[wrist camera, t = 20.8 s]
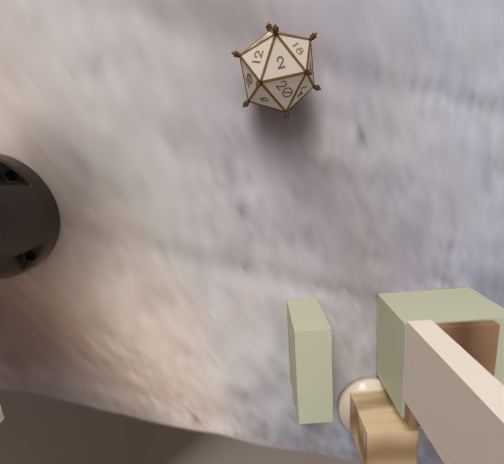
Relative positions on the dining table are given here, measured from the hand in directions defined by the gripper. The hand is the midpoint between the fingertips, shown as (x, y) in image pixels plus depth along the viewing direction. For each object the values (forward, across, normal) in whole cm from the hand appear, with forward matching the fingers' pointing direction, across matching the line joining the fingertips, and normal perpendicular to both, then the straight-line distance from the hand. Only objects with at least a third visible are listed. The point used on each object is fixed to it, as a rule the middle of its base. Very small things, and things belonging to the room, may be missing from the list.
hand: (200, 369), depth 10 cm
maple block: (+29, +18, -29) cm, 45 cm away
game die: (+31, +6, +14) cm, 35 cm away
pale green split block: (+31, +18, -19) cm, 40 cm away
